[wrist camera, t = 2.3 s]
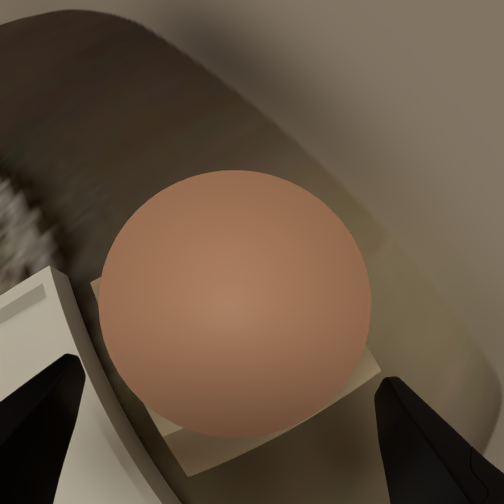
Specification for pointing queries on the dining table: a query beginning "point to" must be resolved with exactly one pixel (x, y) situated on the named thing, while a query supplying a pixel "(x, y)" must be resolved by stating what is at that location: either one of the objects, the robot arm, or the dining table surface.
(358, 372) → the holder
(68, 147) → the dining table surface
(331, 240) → the dowel
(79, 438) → the tray
